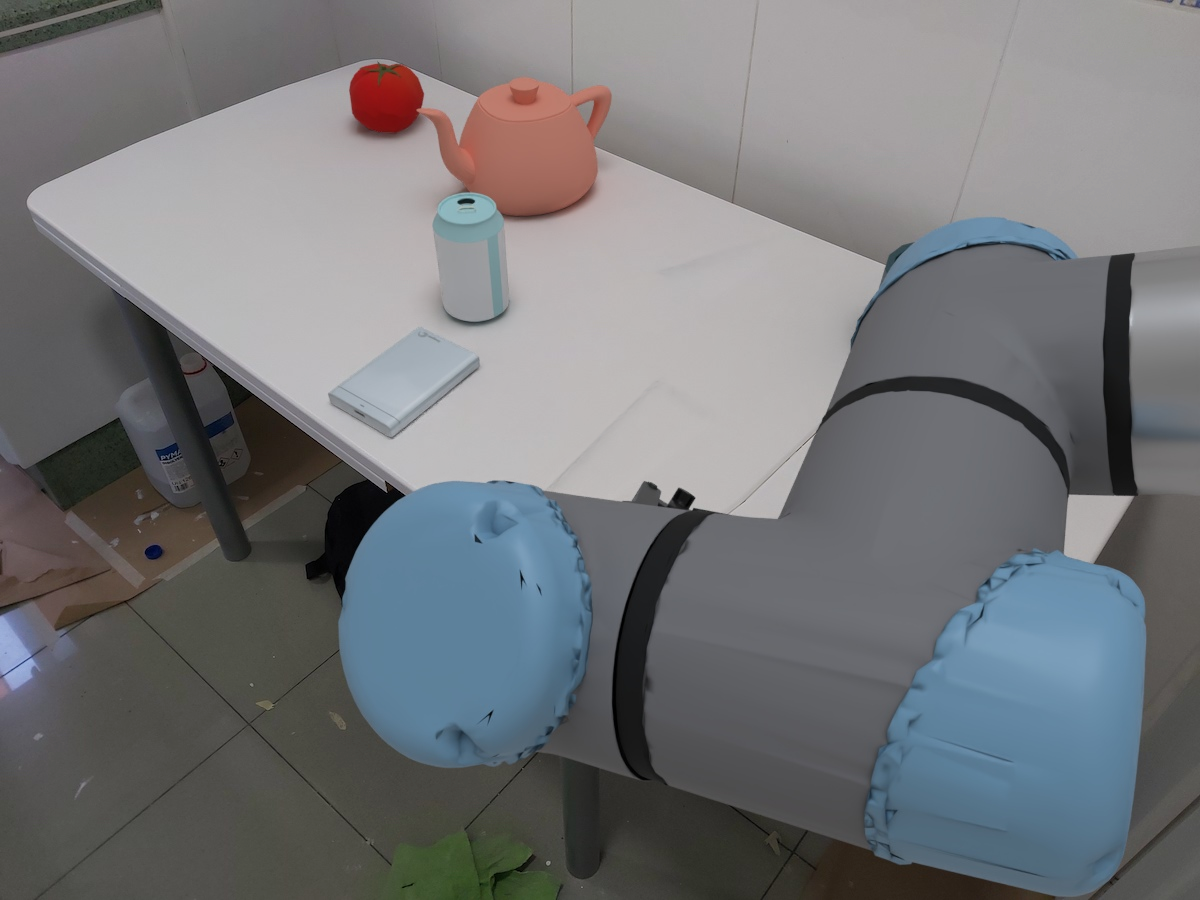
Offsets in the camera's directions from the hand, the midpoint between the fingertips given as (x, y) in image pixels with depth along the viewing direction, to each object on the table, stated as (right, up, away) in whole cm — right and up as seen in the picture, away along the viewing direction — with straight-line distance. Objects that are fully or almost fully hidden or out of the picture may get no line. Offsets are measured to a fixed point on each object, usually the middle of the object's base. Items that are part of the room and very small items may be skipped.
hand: (813, 598), depth 54 cm
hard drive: (-32, +15, +32) cm, 48 cm away
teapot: (-23, +42, +58) cm, 76 cm away
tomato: (-42, +54, +69) cm, 98 cm away
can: (-26, +24, +41) cm, 55 cm away
